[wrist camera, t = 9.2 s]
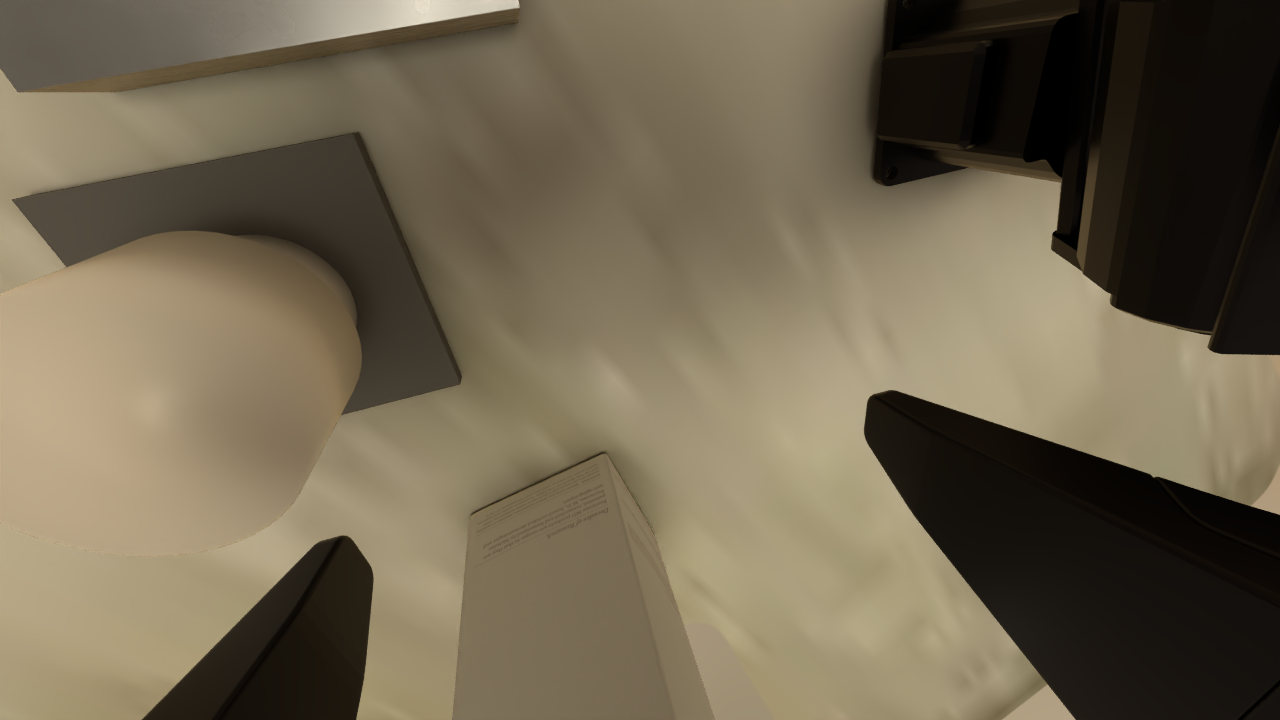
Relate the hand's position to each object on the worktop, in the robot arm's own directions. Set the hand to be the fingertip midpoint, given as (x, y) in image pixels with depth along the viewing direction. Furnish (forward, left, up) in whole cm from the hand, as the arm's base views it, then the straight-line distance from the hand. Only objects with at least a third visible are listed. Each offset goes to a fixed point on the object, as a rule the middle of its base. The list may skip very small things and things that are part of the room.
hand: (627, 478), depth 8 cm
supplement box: (+3, +13, -12) cm, 18 cm away
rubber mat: (+9, -1, -12) cm, 15 cm away
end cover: (+9, -1, -11) cm, 15 cm away
